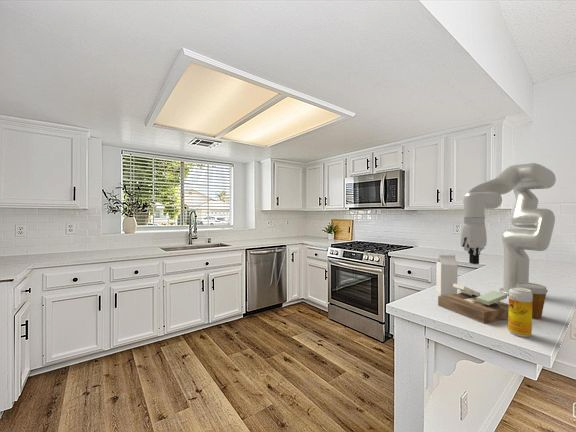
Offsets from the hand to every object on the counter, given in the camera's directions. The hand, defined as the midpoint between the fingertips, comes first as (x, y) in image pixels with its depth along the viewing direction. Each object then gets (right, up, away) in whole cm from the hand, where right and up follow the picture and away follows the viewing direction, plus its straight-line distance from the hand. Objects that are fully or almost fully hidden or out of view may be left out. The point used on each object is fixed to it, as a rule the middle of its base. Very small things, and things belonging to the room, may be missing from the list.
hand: (474, 263), depth 123 cm
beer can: (-3, -19, -28) cm, 34 cm away
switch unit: (-4, -18, -7) cm, 20 cm away
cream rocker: (-4, -12, -1) cm, 13 cm away
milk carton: (-4, -18, +15) cm, 23 cm away
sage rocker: (-1, -12, -12) cm, 17 cm away
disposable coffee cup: (+14, -19, -13) cm, 26 cm away
